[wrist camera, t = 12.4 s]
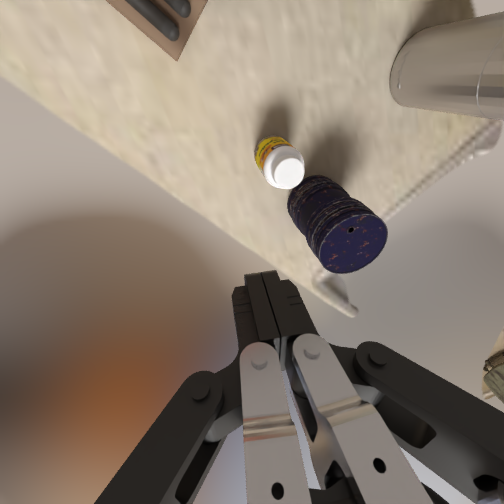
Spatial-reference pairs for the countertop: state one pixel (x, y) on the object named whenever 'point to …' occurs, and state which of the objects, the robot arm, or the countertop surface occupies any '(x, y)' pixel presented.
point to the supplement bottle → (279, 162)
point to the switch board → (171, 15)
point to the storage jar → (336, 225)
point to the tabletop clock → (495, 379)
